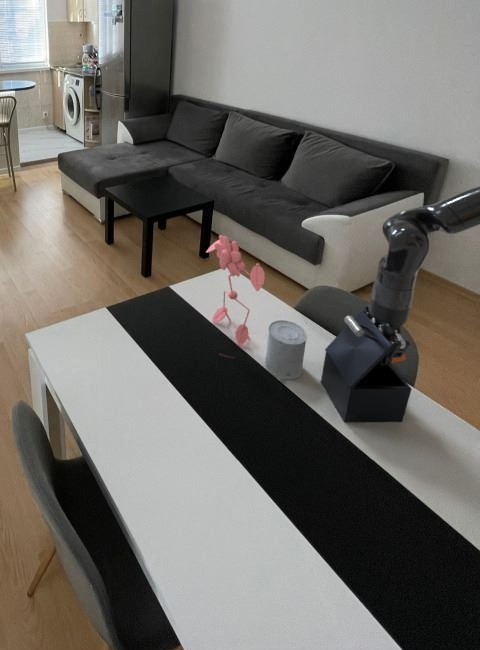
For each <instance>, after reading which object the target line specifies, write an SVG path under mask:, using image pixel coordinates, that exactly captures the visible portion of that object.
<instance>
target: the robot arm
mask: <svg viewBox="0 0 480 650" xmlns="http://www.w3.org/2000/svg"><path fill="white" fill-rule="evenodd" d="M479 226H480V185H478V186H474V187H471V188H469V189H465V190H463V191H460V192H458V193H456V194H454V195H452V196H449V197H446V198H445V199H443V200H440V201H437V202H436V203H433V204H428V205H423V206H418V207H414V208H411V209H410V208H409V209H406V210H403V211H399V212H397V213H394V214H393V215H391V216H390V217H389V218H387V219H386V220H385V222H383V224H382V227H381V228H382V234H383V236H384V238H385V239H386V241H387V243H388V249H387V250H388V252H387V254H385V255H383V256H382V257H381V258H380V260H379V263H378V267H377V272H376V276H375V280H374V282H373V285H372V289H371V294H370V300H369V304H368V305H363V311H364V312H365V313H366V314H367V315H368V317H369V318H370V319H371V321H372V322H373V324H375V325H376V326H377V327H378V329H379V331H380V332H381V333H383V334H384V335H385V336H386V337H387V338H388V339H393V338H394V339H395V340H394V341H390V342H391V343H392V344H393V345H394V347H393V348H392V349H391V350H390V351H389V352H388V353H387V355H386V356H385V357H384V358H383V359H382V360H381V361H380V362H379V363H380V364H381V365H382V366H385V365H391V362H392V358H401V357H402V355H403V354H404V353H405V354H406V352H407V350H408V348H409V347H410V341H409V340H407V339H405V340H404V338H403V337H402V326H403V325H404V324H406V323H407V322H408V320H409V316H410V312H411V308H412V303H413V301H414V295H415V285H416V281H417V277H418V272H419V270H420V269H421V268H422V266H423V264H424V262H425V261H426V259H427V257H428V255H429V253H430V249H431V238H430V236H429V234H433V233H436V232H444V233H445V234H448V235H458V234H460V233H463V232H465V231H468V230H471V229H473V228H476V227H479Z"/></svg>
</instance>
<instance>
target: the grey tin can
mask: <svg viewBox="0 0 480 650" xmlns="http://www.w3.org/2000/svg"><path fill="white" fill-rule="evenodd" d="M307 339H308V335H307V332H306V330H305V329H304V328H303V327H302V326H301V325H299V324H297V323H295V322H293V321H289V320H284V319H283V320H282V319H280V320H275V321H272V322H271V323H270V324H269V325H268V333H267V344H266V354H265V360H264V364H265V367H266V369H267V370H268V372H269V373H271V374H272V375H274V376H275V377H278V378H280V379H283V380H295V379H298V378H300V377H301V375H302V373H303V365H304V358H305V350H306V343H307Z"/></svg>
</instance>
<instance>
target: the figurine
mask: <svg viewBox="0 0 480 650" xmlns="http://www.w3.org/2000/svg"><path fill="white" fill-rule="evenodd" d="M214 251H216V256H217V258H218V259H219V266H220V269H221V270H223V271H226V269H227V271H228V273H229V274H228V282H229V286H230V290H229V291H227V290H223V306H221V307H219V308H218V309H216V311H215V312H214V314H213V316H212V320H211V322H212V321H213V322H212V323H219V322H221V321H222V320H223V319H224V318H225V317H226V318H227V320H228V321H229V322H230V321H231V322H232V319H231V317H230V315H229V314H228V308H227V307H226V304H225V303H226V294H227V296H228V298H229V299H230V300H234V301H236V302H237V303H238V304H239V305H241V306H242V307H244V309H246V310H247V312H246V317H245V320H244V322H243V324H239V325H238V327H237V328H236V330H235V340H236V343H237V344H238V347H241V346H243V345H244V344H245V343H246V342H247V340H251V338H250V336H249V328H248V326H247V325H246V323H247V320H248V318H249V315H250V308H249V307H247V306H245V304H243V303H242V302H241V301H240V300H238V296H239V295H238V292H237V291H235V290H234V289H233V285H232V280H231V277H235V276H236V277H240V276H241V271H242V272H244V273H245V274H247V276H249V278H250V283H251V286H252V287H253V288H254V290H255V291H256V292H259V291H260V290H261V289H262V287H263V285H264V283H265V280H266V276H265V271H264V268H263V267H262V266H261V264H260V263H256V264H255V265H254V266H253V267H252V269H251V271H250V273H249V272H248V271H247V270H245V269H246V264H245V262H244V261H243V260H242V253H241V252H240V246H239V244H238V241H237V240H233V241H230V239H229V238H228V237H227V236H226V235H222V234H220V235H219V236H218V240H216V241H215V242H213V243H212V244H211V245H210V246H208V249H207V250H206V251H205V253H207V254H208V253H212V252H214ZM220 356H223V357H226V358H229V356H228V355H224V354H221V353H220ZM230 358H231V359H234V357H232V356H230Z"/></svg>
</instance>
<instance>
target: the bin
mask: <svg viewBox="0 0 480 650" xmlns="http://www.w3.org/2000/svg"><path fill="white" fill-rule="evenodd" d="M320 384H321V386H322V387H323V390H324V391H325V392H326V394H327V396H328V398H329V400H330V401H331V403H332V405H333V406H334V408H335V409H336V412H337V413H338V414H339V417H340V418H341V420H342V421H343V423H344V424H345V423H348V424H349V423H403V422H404V418H405V414H406V410H407V407H408V403H409V399H410V395H411V392H412V388H411V386H410V385H409V383H408V382H407V381H406V380H405V378H403V376H402V375H401V374H400V373H399V371H398V370H397V369H396V368H395V366H394V365H393V363H392V364H391V365H385V366H382V365H381V364H380V363H378V364H377V365H376V366H375V367H374V368H373V369H372V370H371V371H370V372H369V373H368V374H367V375H366V376H365V377H364V378H363V379H362V380H361V381H360V382H359V383H358V384H357V385H356V386H355V387H354V388H353V389H352V388H350V387H349V385H348V384H347V382H346V381H345V379H344V378H343V376H342V375H341V373H340V372H339V370H338V369H337V367H336V366H335V364H334V363H333V361H332V360H331V358H330V357H329V355H328V353H327V352H326V351H325V355H324V360H323V366H322V372H321V379H320Z"/></svg>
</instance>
